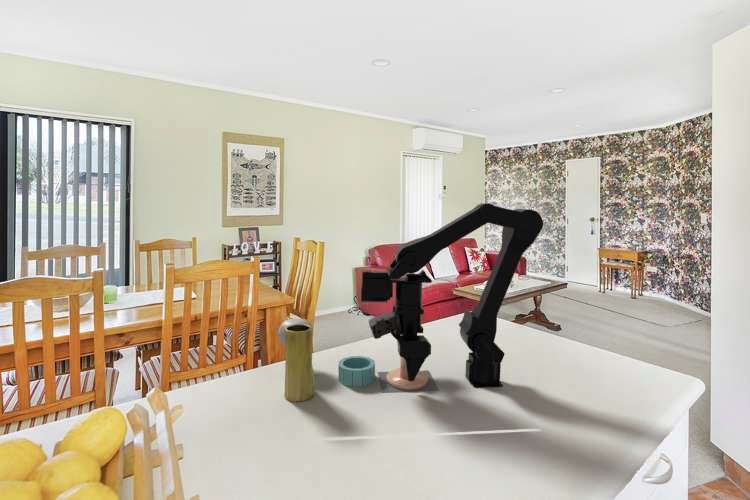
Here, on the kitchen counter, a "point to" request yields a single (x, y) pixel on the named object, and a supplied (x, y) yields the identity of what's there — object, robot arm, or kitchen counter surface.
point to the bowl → (356, 371)
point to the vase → (298, 363)
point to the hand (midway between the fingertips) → (407, 371)
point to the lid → (406, 378)
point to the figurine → (287, 323)
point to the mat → (387, 389)
